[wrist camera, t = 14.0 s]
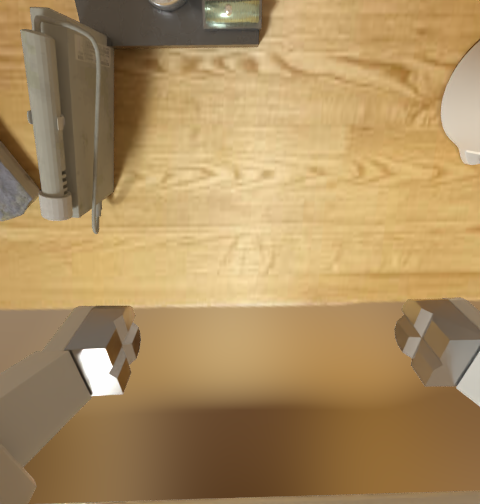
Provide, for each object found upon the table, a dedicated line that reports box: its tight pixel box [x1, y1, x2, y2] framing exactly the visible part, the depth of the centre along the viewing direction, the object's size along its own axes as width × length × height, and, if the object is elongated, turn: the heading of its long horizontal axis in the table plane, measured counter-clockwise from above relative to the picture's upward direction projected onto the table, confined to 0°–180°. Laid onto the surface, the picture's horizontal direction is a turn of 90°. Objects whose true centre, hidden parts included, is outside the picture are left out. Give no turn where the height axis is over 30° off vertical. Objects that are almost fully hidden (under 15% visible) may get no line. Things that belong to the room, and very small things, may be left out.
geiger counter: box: [20, 7, 114, 234], centre depth 33 cm, size 14×6×25 cm
